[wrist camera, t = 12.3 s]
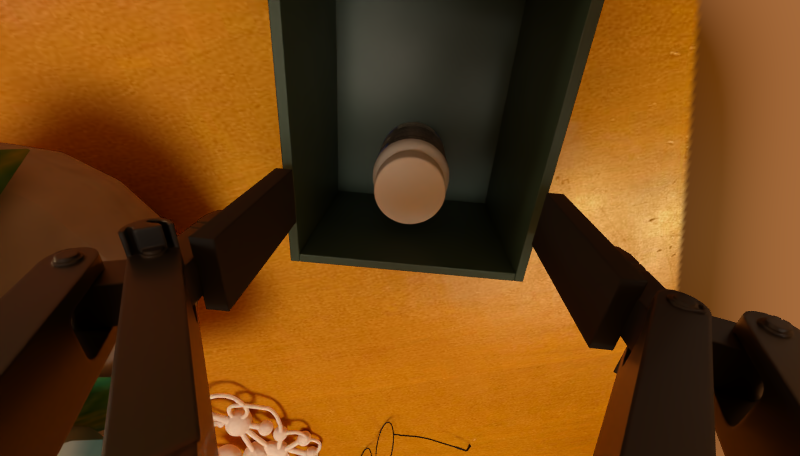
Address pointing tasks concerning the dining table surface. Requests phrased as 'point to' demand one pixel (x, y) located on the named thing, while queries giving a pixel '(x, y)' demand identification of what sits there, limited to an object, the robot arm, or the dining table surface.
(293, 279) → the dining table surface
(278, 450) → the tangled rod sculpture
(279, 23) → the open dark green box
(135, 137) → the dining table surface
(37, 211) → the flower arrangement
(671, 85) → the dining table surface
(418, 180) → the pill bottle
